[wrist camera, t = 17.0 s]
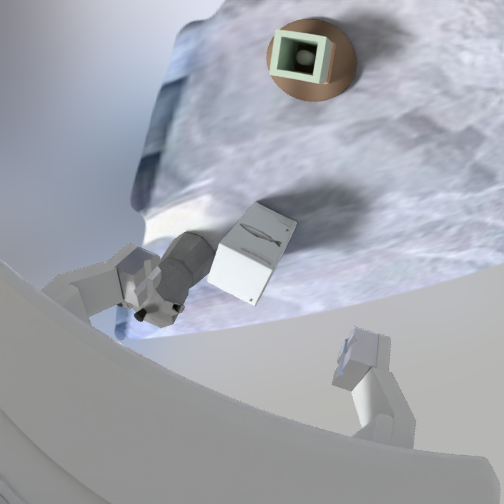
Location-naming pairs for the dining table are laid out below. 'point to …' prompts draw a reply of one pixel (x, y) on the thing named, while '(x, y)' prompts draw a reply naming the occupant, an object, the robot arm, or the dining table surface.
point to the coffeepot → (175, 279)
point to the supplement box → (251, 253)
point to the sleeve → (287, 52)
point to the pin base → (338, 64)
